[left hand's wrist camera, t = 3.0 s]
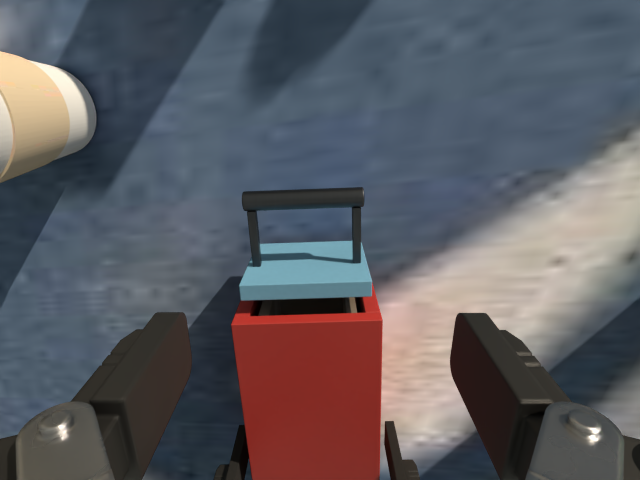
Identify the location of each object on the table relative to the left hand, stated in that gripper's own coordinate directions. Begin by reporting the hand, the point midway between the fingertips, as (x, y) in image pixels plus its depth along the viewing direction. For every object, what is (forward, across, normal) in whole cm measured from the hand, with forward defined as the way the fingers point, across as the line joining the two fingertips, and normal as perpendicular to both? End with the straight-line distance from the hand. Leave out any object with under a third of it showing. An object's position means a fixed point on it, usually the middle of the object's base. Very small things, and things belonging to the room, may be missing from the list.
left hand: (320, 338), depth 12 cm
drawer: (+22, +1, +11) cm, 24 cm away
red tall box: (+23, 0, +17) cm, 28 cm away
